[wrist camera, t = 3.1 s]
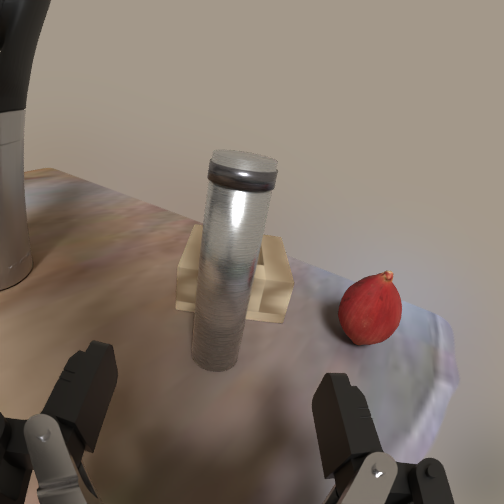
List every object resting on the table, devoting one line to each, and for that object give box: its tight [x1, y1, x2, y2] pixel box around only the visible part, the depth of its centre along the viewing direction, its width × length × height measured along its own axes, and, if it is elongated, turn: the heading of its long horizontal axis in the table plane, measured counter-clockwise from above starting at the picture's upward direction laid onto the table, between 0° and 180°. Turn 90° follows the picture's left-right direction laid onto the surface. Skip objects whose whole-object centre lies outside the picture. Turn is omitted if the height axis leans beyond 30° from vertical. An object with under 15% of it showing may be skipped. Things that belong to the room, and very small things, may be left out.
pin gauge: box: [192, 150, 278, 372], centre depth 19 cm, size 4×4×15 cm
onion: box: [338, 271, 402, 345], centre depth 24 cm, size 6×6×8 cm
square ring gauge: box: [176, 225, 294, 323], centre depth 30 cm, size 10×10×4 cm
